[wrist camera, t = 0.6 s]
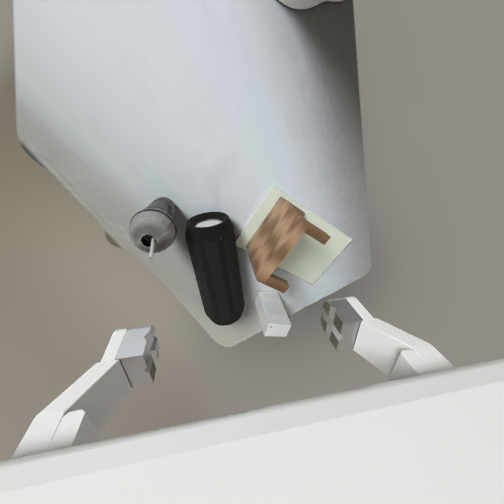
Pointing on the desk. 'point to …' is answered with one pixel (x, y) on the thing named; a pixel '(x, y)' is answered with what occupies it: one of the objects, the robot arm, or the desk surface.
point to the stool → (279, 241)
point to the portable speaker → (216, 266)
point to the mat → (306, 248)
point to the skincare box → (272, 314)
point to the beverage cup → (154, 226)
